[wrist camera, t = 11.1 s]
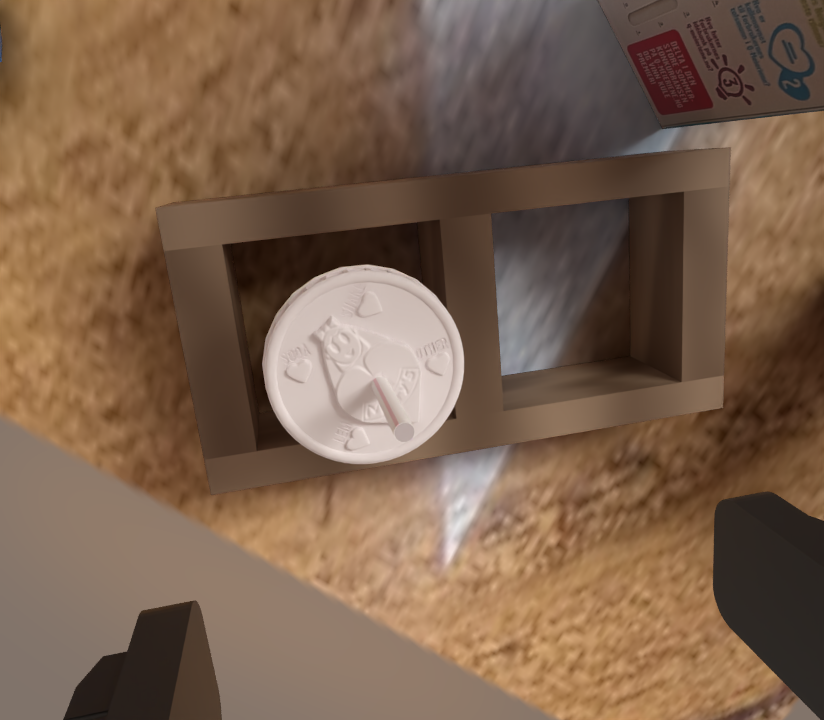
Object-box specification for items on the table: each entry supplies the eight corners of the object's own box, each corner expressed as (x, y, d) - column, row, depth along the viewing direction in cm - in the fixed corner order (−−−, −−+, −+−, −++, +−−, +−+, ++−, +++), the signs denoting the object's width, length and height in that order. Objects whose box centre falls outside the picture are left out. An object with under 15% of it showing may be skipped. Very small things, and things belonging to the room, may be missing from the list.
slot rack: (668, 150, 32) (730, 147, 28) (667, 379, 35) (722, 407, 31) (172, 202, 28) (155, 207, 24) (219, 451, 31) (211, 495, 27)
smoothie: (336, 409, 32) (382, 577, 19) (233, 310, 30) (202, 420, 17) (438, 313, 32) (558, 415, 18) (341, 207, 30) (397, 235, 16)
